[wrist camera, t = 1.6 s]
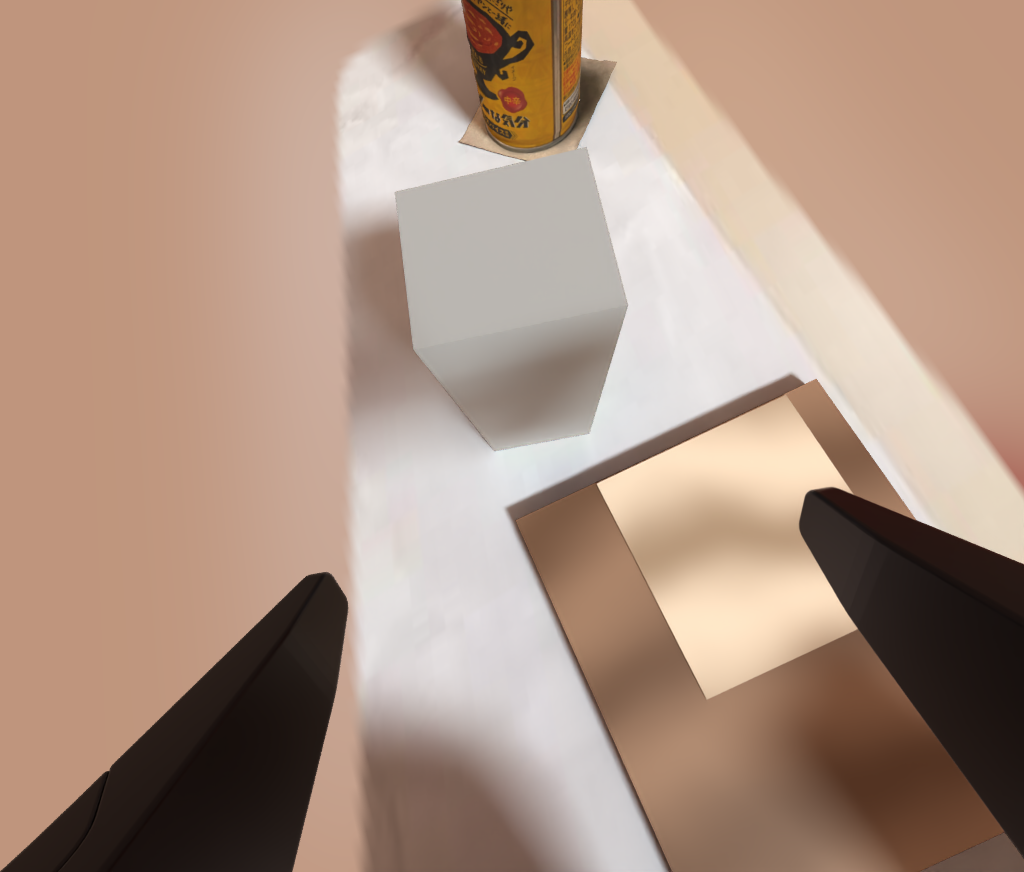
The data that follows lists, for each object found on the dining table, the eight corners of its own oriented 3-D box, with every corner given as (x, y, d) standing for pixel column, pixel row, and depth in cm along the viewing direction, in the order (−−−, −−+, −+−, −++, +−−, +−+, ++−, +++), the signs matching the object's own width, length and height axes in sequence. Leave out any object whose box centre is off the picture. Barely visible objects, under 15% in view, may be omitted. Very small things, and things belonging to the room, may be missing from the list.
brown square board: (1078, 773, 16) (1108, 787, 15) (707, 945, 16) (715, 969, 15) (806, 384, 21) (817, 378, 20) (516, 520, 21) (515, 520, 20)
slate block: (589, 433, 21) (627, 305, 9) (494, 451, 22) (413, 349, 10) (572, 354, 22) (586, 146, 10) (482, 372, 23) (394, 192, 11)
